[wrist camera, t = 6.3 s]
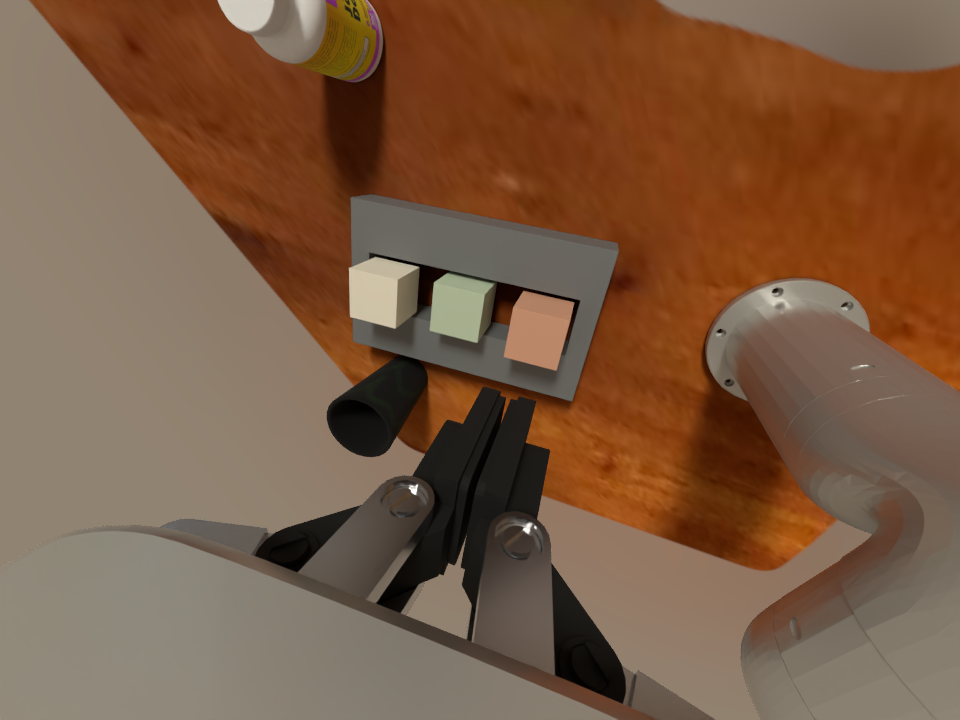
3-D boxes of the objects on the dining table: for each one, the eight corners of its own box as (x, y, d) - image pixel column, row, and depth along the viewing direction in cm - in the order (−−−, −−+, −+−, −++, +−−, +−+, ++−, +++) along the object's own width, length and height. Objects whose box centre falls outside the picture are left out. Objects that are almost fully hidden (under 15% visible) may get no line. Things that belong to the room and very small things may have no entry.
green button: (497, 280, 40) (484, 294, 36) (490, 324, 43) (477, 343, 39) (451, 269, 41) (433, 282, 37) (447, 313, 44) (429, 330, 39)
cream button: (419, 266, 41) (397, 279, 36) (416, 311, 43) (395, 328, 39) (375, 256, 41) (349, 268, 37) (375, 301, 44) (350, 316, 40)
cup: (409, 337, 49) (357, 385, 39) (446, 385, 51) (406, 442, 40) (370, 364, 53) (313, 414, 42) (406, 408, 54) (359, 466, 44)
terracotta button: (574, 302, 38) (570, 320, 34) (561, 348, 40) (556, 370, 36) (523, 290, 39) (513, 307, 34) (514, 336, 41) (503, 356, 37)
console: (617, 243, 38) (618, 251, 34) (574, 383, 45) (572, 401, 42) (371, 194, 42) (350, 197, 39) (370, 329, 50) (353, 341, 47)
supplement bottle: (399, 36, 35) (306, -20, 24) (360, 100, 38) (261, 76, 27) (345, -29, 34) (221, -119, 23) (309, 42, 37) (185, -7, 26)
